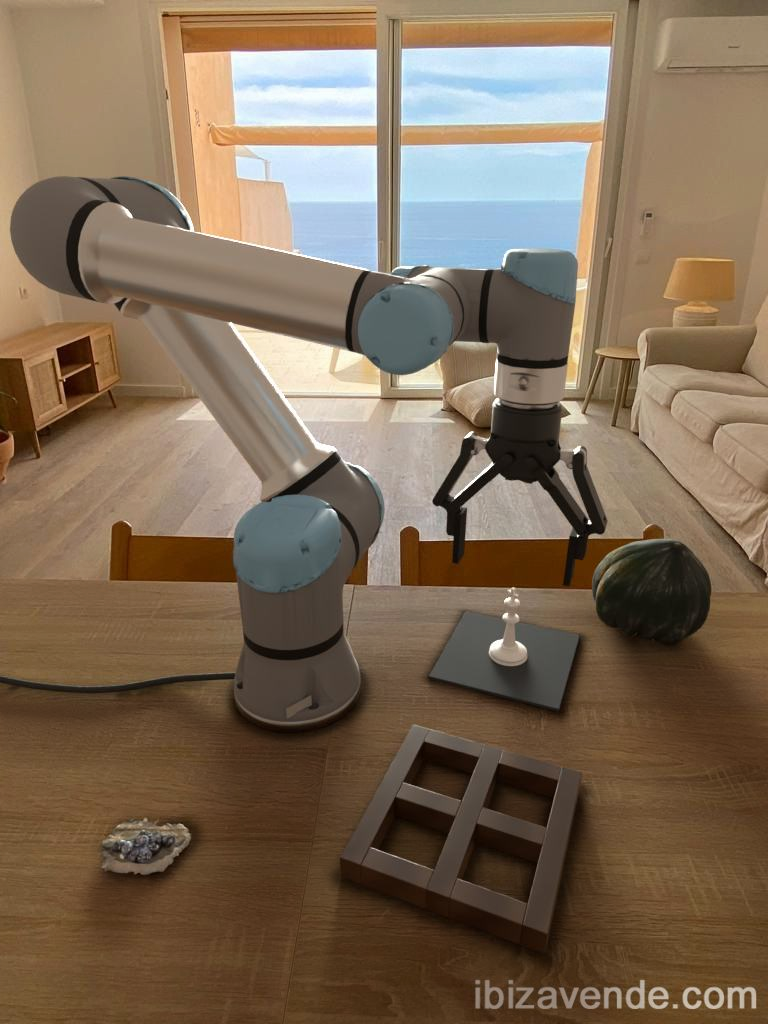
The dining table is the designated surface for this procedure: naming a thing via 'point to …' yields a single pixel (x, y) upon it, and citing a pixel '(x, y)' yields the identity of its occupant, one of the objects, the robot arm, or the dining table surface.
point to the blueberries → (143, 846)
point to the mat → (524, 683)
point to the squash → (653, 590)
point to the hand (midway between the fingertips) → (511, 569)
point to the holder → (468, 835)
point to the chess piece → (509, 636)
